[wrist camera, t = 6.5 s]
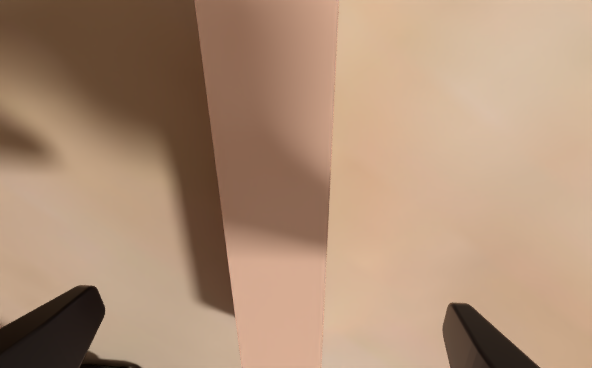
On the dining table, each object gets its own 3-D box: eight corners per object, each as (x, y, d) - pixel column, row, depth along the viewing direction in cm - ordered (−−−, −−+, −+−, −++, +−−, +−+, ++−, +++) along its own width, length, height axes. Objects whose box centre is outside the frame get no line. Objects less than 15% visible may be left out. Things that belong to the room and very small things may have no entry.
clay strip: (321, 326, 16) (319, 401, 13) (261, 321, 16) (245, 393, 13) (336, -2, 9) (339, -15, 6) (236, -1, 10) (192, -12, 7)
